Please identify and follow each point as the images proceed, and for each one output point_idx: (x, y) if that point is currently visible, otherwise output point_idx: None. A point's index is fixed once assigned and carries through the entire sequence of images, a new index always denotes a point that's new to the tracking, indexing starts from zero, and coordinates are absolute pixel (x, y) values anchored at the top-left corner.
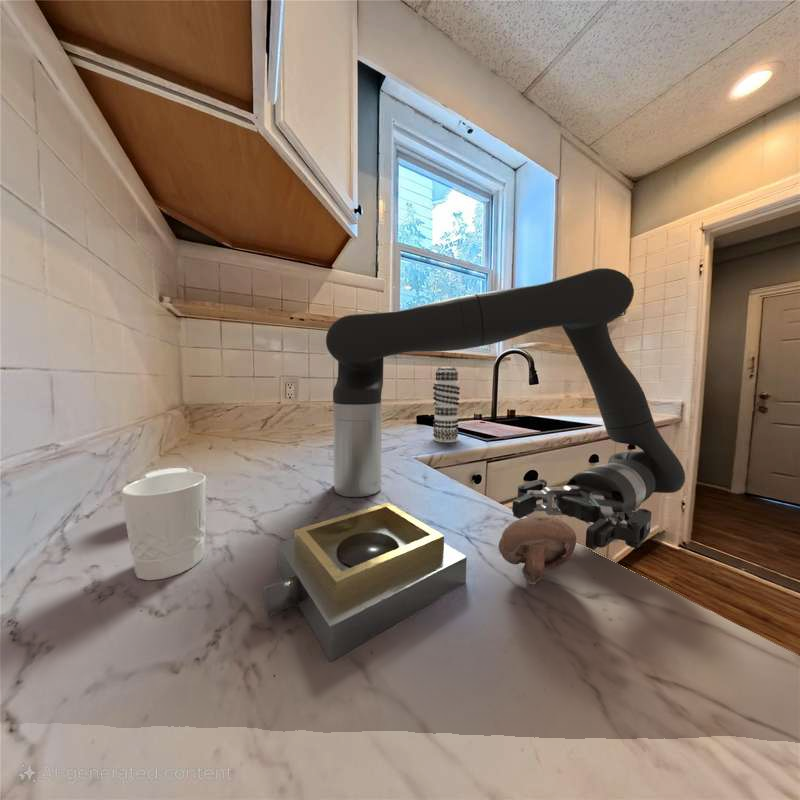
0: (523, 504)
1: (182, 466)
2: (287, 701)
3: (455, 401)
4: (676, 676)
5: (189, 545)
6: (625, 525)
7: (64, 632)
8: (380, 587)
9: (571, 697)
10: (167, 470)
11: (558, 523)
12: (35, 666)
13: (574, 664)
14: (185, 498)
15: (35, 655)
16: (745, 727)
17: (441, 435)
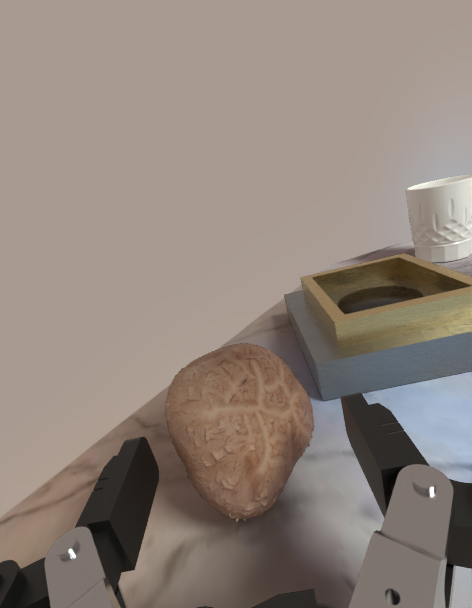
0: (350, 421)
1: None
2: (277, 310)
3: None
4: (67, 506)
5: (425, 241)
6: (27, 588)
7: (371, 257)
8: (306, 308)
9: (161, 408)
10: None
11: (184, 369)
12: (350, 261)
13: (166, 429)
14: (419, 198)
15: (357, 258)
16: (21, 503)
17: None
